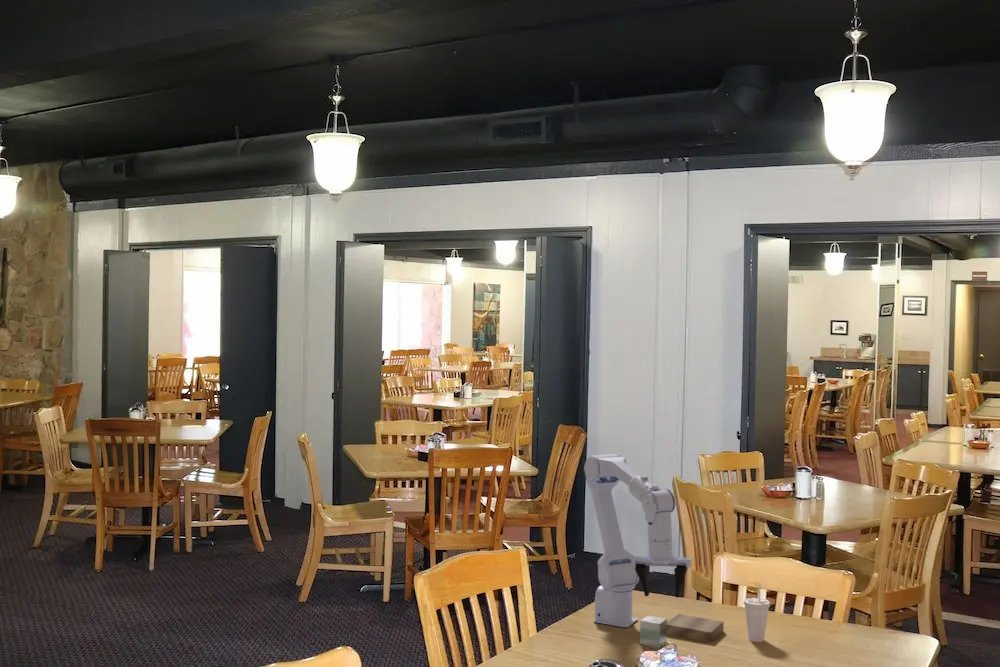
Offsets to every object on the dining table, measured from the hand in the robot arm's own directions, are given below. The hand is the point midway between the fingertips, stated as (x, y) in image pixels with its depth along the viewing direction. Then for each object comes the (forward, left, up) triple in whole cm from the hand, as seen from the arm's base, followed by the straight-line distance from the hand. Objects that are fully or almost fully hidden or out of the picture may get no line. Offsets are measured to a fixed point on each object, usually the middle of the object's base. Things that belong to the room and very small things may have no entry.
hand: (662, 596), depth 237 cm
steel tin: (-2, 0, -12) cm, 12 cm away
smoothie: (+19, +16, -12) cm, 27 cm away
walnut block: (+4, +13, -13) cm, 18 cm away
